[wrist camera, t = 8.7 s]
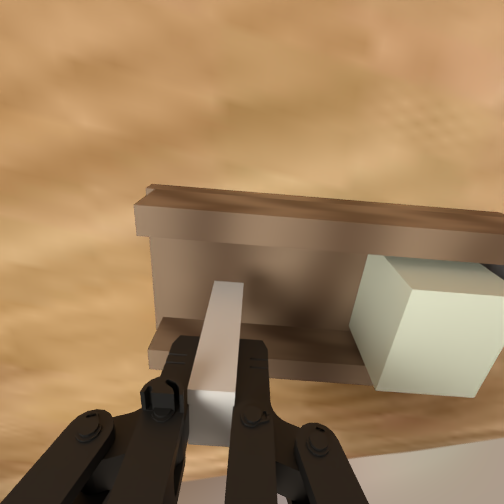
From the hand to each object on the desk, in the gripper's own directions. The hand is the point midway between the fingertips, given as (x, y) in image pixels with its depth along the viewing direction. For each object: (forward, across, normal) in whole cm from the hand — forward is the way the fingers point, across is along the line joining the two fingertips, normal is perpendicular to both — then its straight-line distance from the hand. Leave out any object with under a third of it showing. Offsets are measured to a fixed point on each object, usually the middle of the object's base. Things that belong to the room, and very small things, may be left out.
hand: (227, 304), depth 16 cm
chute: (+4, -5, 0) cm, 6 cm away
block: (+3, -10, 0) cm, 11 cm away
